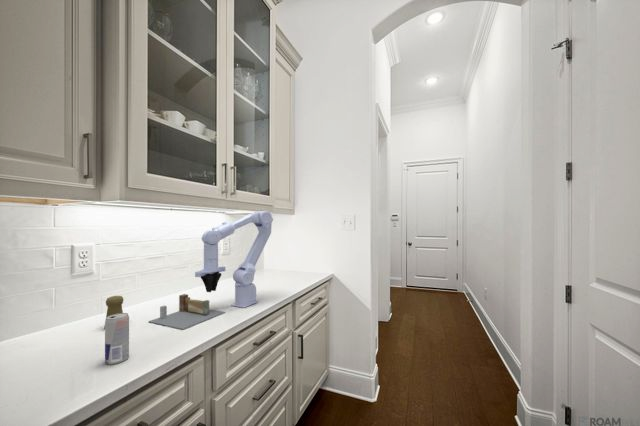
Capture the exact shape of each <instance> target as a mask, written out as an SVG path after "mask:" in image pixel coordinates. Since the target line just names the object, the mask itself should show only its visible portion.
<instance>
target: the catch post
mask: <svg viewBox="0 0 640 426" xmlns="http://www.w3.org/2000/svg"><path fill="white" fill-rule="evenodd" d="M167 308H168V307H167V305H162V306H159V318H160V319H165V318H167V315H168V314H167V312H168V311H167V310H168V309H167Z"/></svg>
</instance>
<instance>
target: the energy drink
mask: <svg viewBox="0 0 640 426" xmlns="http://www.w3.org/2000/svg"><path fill="white" fill-rule="evenodd" d="M104 327H105V329H104V363H105V364H106V365H117V364H120V363H123V362H125V361H127V360H128V359H129V358H130V316H129V313H128V312H123V313H118V314H113V315H110V316H108V317H106V316H105V320H104Z"/></svg>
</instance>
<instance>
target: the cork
mask: <svg viewBox="0 0 640 426" xmlns="http://www.w3.org/2000/svg"><path fill="white" fill-rule="evenodd" d="M123 304H124V297H123V296H122V295H113V296H109V297H108V298H106V300H105V305H106V307H107V310H106V314H105V315H106V316H105V318H106V317H108V316H110V315H113V314H118V313H124V311H123V306H122V305H123ZM103 328H104V330H105V326H104V327H103Z"/></svg>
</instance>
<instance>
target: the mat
mask: <svg viewBox="0 0 640 426" xmlns="http://www.w3.org/2000/svg"><path fill="white" fill-rule="evenodd" d="M223 314H226V311H222V310H216V309H211V308H209V313H208V314H202V313H196V312H191V311H185V312H180V311H176V312H173V313H169V314H167V318H165V319H160V317H158V318H153V319H151V320H148V323H150V324H155V325H159V326H163V327H167V328H172V329H176V330H181V331H184V330H187V329H189V328H191V327H194V326H196V325H199V324H202V323H204V322H206V321H208V320H211V319H214V318H216V317H218V316H221V315H223Z"/></svg>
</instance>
